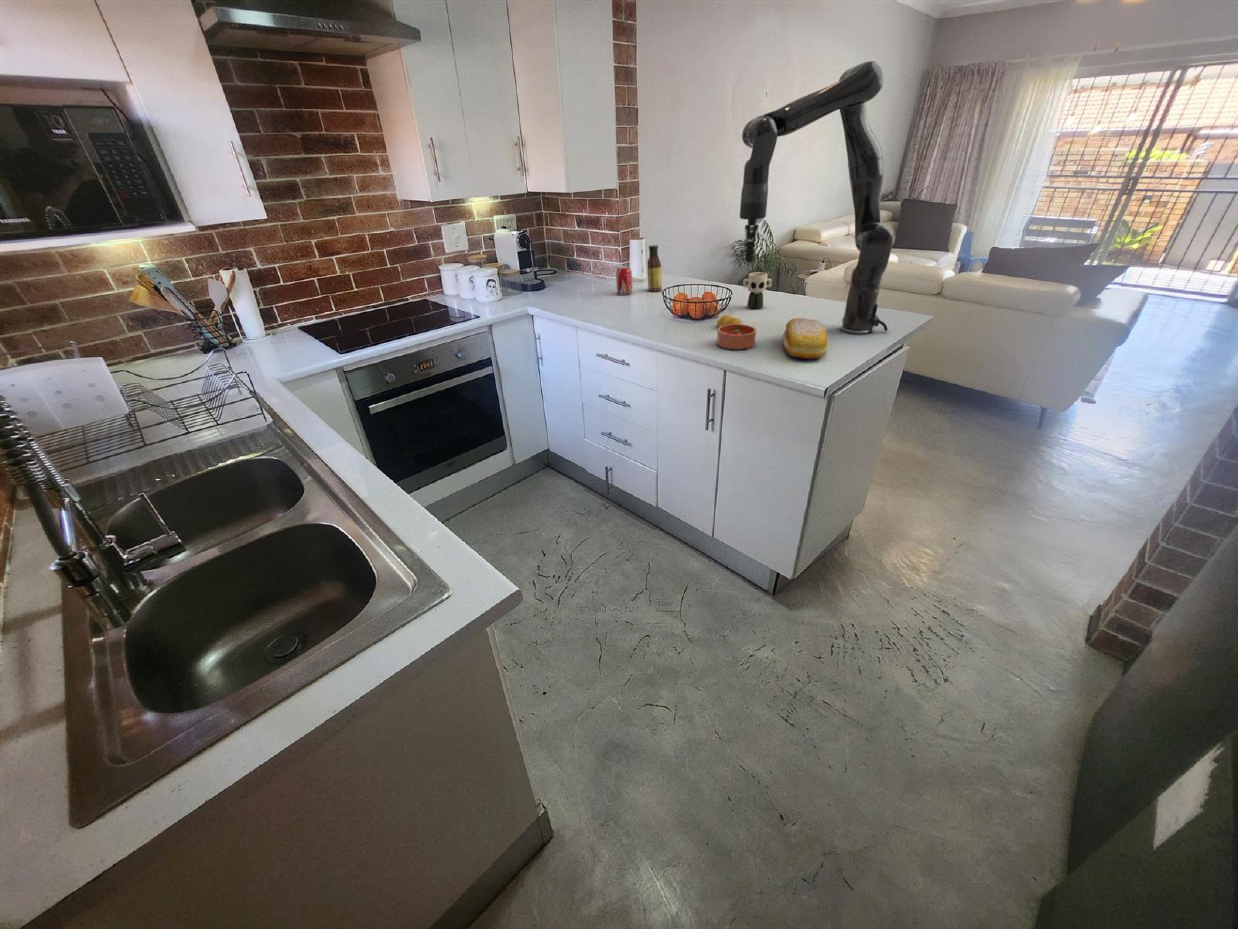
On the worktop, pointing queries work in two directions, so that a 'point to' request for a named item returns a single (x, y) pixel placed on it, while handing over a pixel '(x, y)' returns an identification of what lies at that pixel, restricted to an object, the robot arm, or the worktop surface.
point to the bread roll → (728, 321)
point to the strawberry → (736, 332)
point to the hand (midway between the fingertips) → (749, 259)
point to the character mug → (756, 288)
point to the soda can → (624, 280)
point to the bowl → (736, 336)
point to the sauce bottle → (654, 270)
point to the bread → (805, 338)
